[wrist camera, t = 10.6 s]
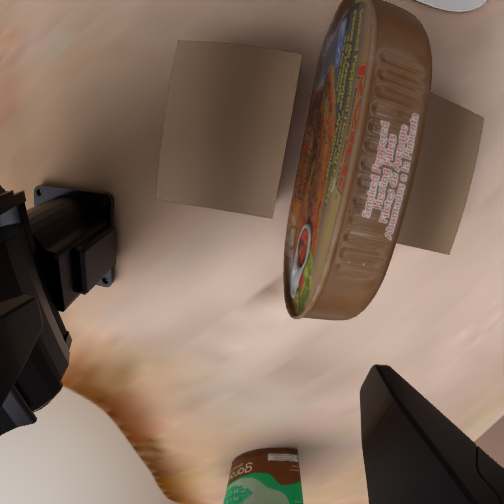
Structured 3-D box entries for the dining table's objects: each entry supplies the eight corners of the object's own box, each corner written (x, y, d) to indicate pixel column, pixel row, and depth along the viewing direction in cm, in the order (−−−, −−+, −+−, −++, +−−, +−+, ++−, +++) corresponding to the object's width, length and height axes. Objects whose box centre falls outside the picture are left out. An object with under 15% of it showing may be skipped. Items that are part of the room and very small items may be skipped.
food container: (245, 428, 26) (235, 524, 17) (304, 442, 26) (309, 532, 17) (207, 476, 30) (195, 547, 21) (255, 487, 31) (250, 556, 22)
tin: (324, 21, 14) (362, -49, 6) (377, 36, 14) (446, -15, 6) (276, 266, 20) (279, 358, 12) (326, 274, 20) (355, 366, 12)
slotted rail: (172, 188, 18) (155, 199, 15) (192, 53, 15) (177, 40, 12) (427, 236, 18) (449, 254, 15) (456, 116, 15) (483, 117, 12)
